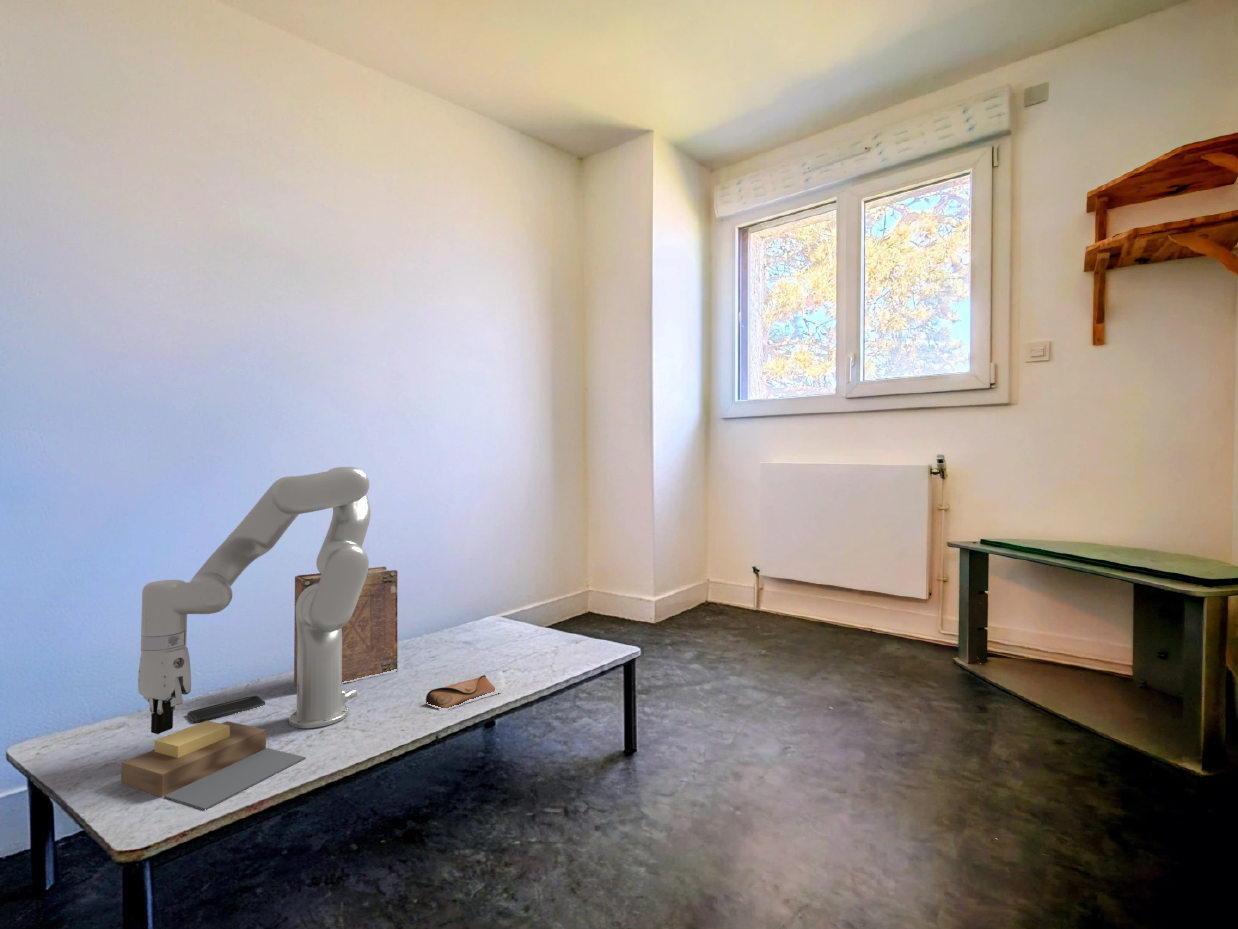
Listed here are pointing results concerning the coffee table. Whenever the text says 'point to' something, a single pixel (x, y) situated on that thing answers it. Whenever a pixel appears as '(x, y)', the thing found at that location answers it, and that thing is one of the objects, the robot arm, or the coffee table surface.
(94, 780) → the coffee table surface
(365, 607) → the book
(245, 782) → the mat
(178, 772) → the brown wooden block
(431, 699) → the sunglasses case
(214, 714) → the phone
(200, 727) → the tile
